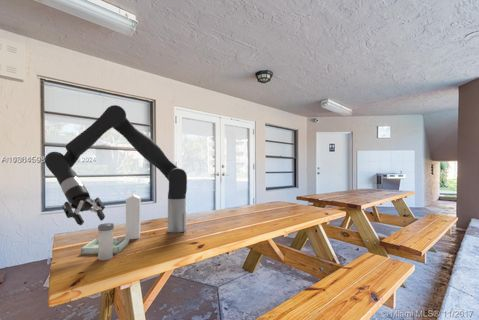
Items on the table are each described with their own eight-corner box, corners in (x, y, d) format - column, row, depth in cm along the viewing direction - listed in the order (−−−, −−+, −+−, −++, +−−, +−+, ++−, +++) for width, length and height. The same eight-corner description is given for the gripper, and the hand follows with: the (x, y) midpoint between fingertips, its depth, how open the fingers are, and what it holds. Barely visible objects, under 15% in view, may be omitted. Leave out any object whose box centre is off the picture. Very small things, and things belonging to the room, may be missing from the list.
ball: (123, 243, 107) (124, 236, 107) (121, 245, 104) (121, 238, 104) (116, 243, 107) (116, 236, 107) (114, 245, 104) (114, 238, 104)
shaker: (115, 254, 95) (115, 223, 95) (109, 260, 90) (110, 226, 90) (101, 255, 95) (102, 223, 95) (95, 260, 90) (95, 226, 90)
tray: (128, 243, 109) (128, 237, 109) (118, 253, 97) (118, 247, 97) (95, 244, 107) (95, 238, 107) (80, 254, 95) (80, 248, 95)
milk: (125, 239, 114) (125, 192, 114) (127, 235, 120) (127, 191, 120) (139, 238, 116) (139, 192, 115) (140, 234, 121) (140, 190, 121)
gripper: (60, 186, 93) (78, 219, 88) (95, 183, 106) (113, 212, 101) (51, 199, 95) (69, 232, 90) (87, 194, 108) (104, 223, 103)
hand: (92, 221), depth 96 cm, fingers open, 8 cm apart
